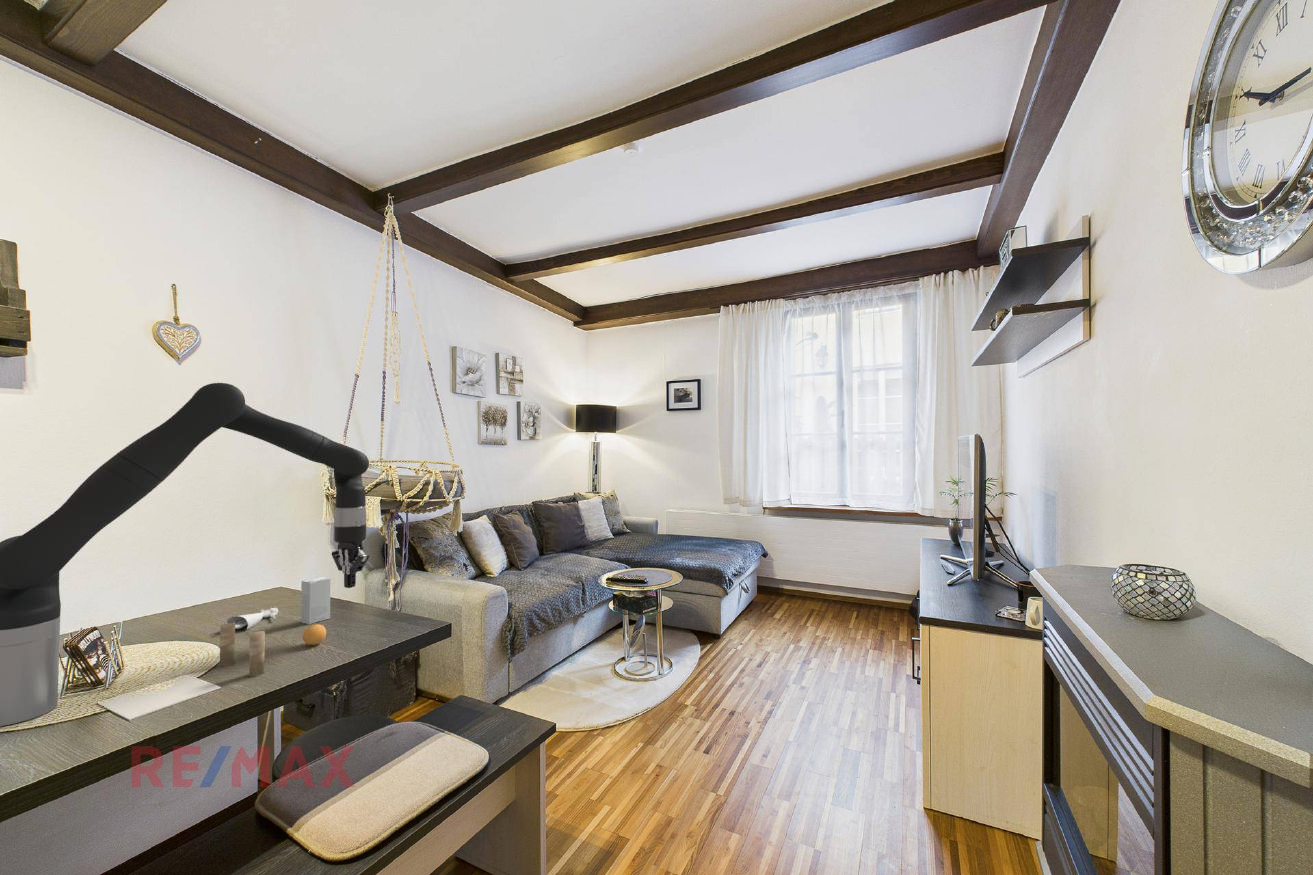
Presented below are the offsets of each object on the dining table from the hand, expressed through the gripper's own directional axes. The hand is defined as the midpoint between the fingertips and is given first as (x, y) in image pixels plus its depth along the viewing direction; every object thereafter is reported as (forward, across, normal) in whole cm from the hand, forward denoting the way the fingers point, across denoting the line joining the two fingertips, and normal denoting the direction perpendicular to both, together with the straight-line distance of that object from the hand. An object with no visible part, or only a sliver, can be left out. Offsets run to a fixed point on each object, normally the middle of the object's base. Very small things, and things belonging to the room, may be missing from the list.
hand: (349, 587), depth 138 cm
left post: (+12, -6, -25) cm, 29 cm away
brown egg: (+10, 0, -9) cm, 13 cm away
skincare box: (+13, -18, +2) cm, 22 cm away
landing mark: (+12, 0, -39) cm, 41 cm away
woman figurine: (+13, -32, -7) cm, 35 cm away
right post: (+12, +6, -25) cm, 29 cm away
